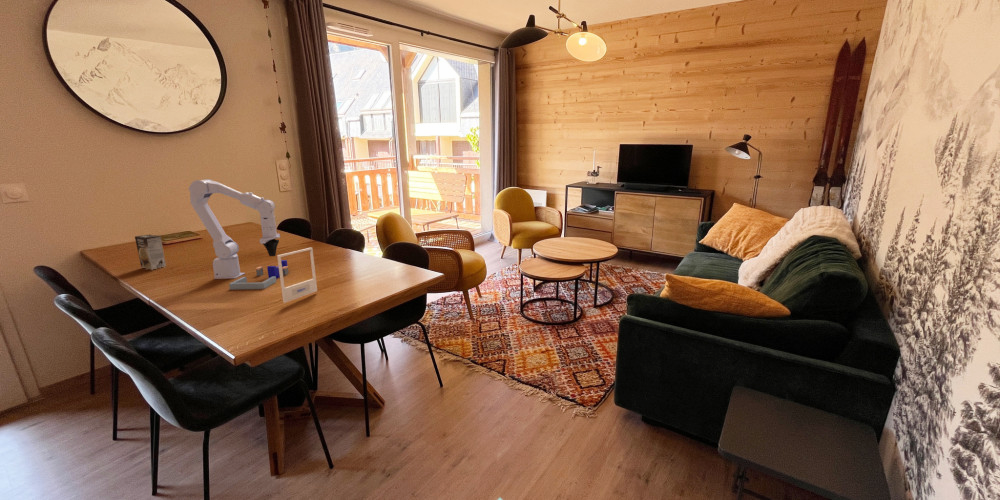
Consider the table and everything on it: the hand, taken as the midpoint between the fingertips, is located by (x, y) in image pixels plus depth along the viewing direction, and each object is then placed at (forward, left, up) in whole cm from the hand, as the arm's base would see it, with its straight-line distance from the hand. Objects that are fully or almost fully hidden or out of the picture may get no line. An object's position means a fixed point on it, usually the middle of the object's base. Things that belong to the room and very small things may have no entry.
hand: (272, 255), depth 185 cm
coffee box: (-65, +14, -9) cm, 67 cm away
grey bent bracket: (0, -18, -8) cm, 20 cm away
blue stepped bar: (+3, -3, -9) cm, 10 cm away
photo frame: (+26, -33, -9) cm, 43 cm away
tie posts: (0, -2, -8) cm, 9 cm away
